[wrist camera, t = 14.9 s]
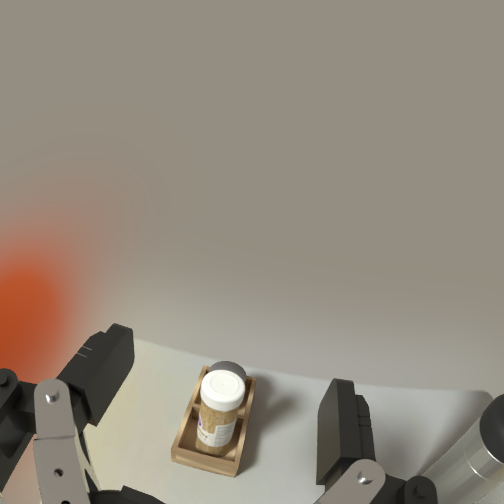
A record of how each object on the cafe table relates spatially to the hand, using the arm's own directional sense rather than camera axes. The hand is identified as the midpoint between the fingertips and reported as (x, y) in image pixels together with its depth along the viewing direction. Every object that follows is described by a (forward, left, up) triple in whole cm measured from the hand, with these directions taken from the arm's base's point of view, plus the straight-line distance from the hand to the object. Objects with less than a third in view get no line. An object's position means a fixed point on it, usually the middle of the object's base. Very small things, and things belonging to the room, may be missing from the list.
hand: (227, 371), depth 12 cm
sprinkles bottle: (-6, -12, -30) cm, 33 cm away
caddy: (-7, -16, -30) cm, 35 cm away
